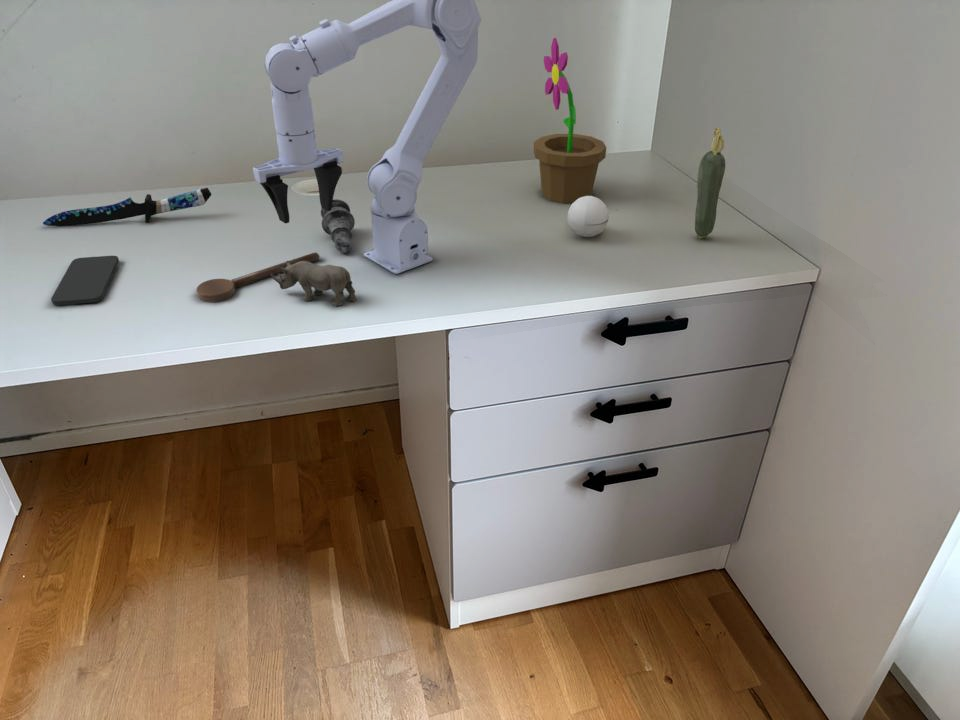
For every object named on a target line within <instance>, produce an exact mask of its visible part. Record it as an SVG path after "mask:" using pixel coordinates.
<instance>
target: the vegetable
mask: <svg viewBox="0 0 960 720" xmlns="http://www.w3.org/2000/svg"><path fill="white" fill-rule="evenodd" d="M714 130H715V131H714V133H713V135H712V136H713V139H712V142H711V143H710V150H709V151H707V152H706V153H705V154H704V155H703V156H702V158H701V160H700V162H699V165H698V173H697V184H696V185H697V186H696V187H697V195H696V196H697V197H696V198H697V199H696V207H695V214H694V232H695V234H696V236H697V238H699V239H700V240H702V239H703V238H708V236H709V235H710V234H712V233H713V230H714V229H715V224H716V221H717V220H716V219H717V210H718V209H717V208H718V202H719V196H720V191H721V188H722V184H723V180H724V176H725V171H726V158H725V157H724V155H723V154H722V153H721V152H722V151H723V150H724V148H725V141H724V138H723V137H724V136H723V134H722V130H721V128H719V127H715V128H714Z"/></svg>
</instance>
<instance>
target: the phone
mask: <svg viewBox="0 0 960 720" xmlns="http://www.w3.org/2000/svg"><path fill="white" fill-rule="evenodd" d="M119 263H120V260H119V256H117V255H102V256H87V257H86V256H85V257H77V258H74V259H73V260H72V261H71V262H70V264H69V266H67V269H66V271H65V273H64V275H63V276H62V278H61V280H60V281H59V284H58V286H57V287H56V289H55V291H54V293H53V295H52V296H51V298H50V299H51V300H50V301H51V303H52V305H54V306H64V305H66V306H67V305H77V304H78V305H79V304H89V303H90V304H91V303H98V302H100V301H101V300H103V298H104V297H105V294H106V292H107V290H108V287H109V285H110V283H111V281H112V278H113V276H114V274H115V273H116V270H117V267H118V265H119Z"/></svg>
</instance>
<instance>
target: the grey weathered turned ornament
mask: <svg viewBox="0 0 960 720" xmlns="http://www.w3.org/2000/svg"><path fill="white" fill-rule="evenodd" d="M320 216H321V218H322V219H321V228H322V229H323V231H324V232H325V233H326V234H327V235H328V236H330V238H331V240H332V242H333V243H334V246H335V250H336V251H337V252H339V253H342V254H345V253H348V252H350V251H351V249H352V247H353V243H352V240H351V239H352V237H353V235H352V231H353V230H354V227H355V223H356V222H355V217H354V215H353V214H352V212H351V208H350V205H349V204H348V203H347V202H346V201H345V200H342V199H338V198H337V199H333V202H332V209H331V211H326V210H325V209H323V208H322V207H321V210H320Z"/></svg>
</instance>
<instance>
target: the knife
mask: <svg viewBox="0 0 960 720" xmlns="http://www.w3.org/2000/svg"><path fill="white" fill-rule="evenodd" d="M210 197H212V192H211V190H210V189H209V188H208V187H204V188H203V187H202V188H199V189H196V190H192V191H189V192H185V193H181V194H178V195H174V196H170V197H167V198H163V199H159V200H153V199H152V195H151V194H150V193H149V194H148V193H147V194H146V195H145V198H144V202H141V203H139V202H135V201H133V199H132V197H128V198H126V199H125V200H122V201H119V202H116V203H114V204H107V205H102V206H95V207H86V208H85V207H84V208H77V209H70V210H65V211H62V212H59V213H55V214H53V215H51V216H50V217H47V218H46V219H45V220H44V221H42V224H43V226H48V227H71V226H83V225H92V224H99V223H107V222H112V221H117V220H124V219H130V218H135V217H140V216H144V219H145V223H150V221H151V218H152V216H154V215H158V214H159V215H160V214H163V213H169V212H173V211H180V210H185V209H190V208H195V207H201V206H204V205H205V204H206V203H207V202H208V200H209V199H210Z"/></svg>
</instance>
